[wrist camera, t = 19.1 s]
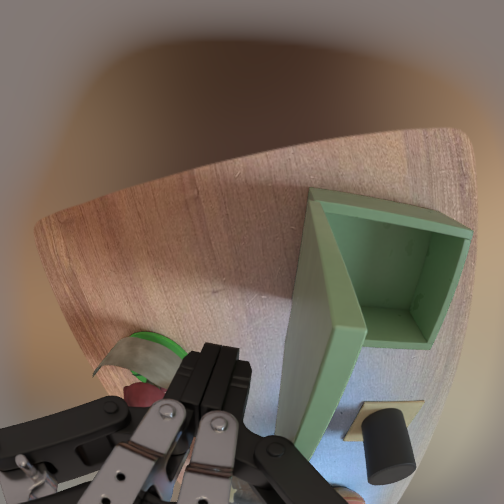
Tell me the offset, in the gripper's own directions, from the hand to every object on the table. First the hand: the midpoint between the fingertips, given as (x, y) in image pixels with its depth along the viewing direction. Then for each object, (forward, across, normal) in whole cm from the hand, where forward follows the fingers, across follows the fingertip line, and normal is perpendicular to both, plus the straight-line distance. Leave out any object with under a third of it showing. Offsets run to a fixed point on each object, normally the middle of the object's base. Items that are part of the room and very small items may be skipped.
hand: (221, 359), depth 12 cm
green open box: (+17, -10, 0) cm, 20 cm away
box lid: (+2, -4, 0) cm, 5 cm away
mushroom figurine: (+17, +12, +19) cm, 28 cm away
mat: (+17, -22, +26) cm, 37 cm away
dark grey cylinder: (+16, -21, +25) cm, 36 cm away
